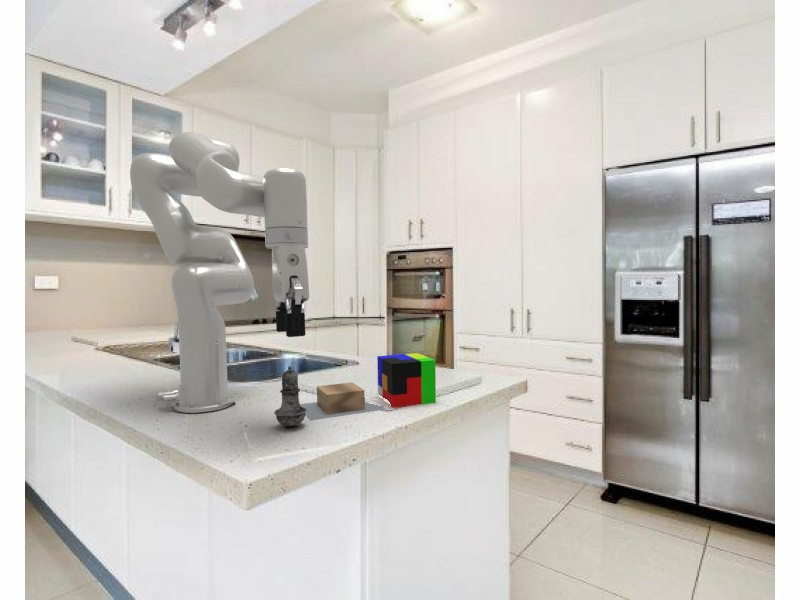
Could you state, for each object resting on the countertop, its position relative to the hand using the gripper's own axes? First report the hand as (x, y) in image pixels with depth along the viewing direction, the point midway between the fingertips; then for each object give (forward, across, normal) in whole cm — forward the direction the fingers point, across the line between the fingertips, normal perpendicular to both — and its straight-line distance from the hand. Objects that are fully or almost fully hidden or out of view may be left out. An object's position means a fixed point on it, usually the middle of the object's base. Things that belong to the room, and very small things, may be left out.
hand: (290, 333), depth 82 cm
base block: (+17, +9, -12) cm, 23 cm away
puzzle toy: (+18, +8, -27) cm, 33 cm away
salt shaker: (+18, +1, 0) cm, 18 cm away
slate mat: (+18, +9, -12) cm, 23 cm away
